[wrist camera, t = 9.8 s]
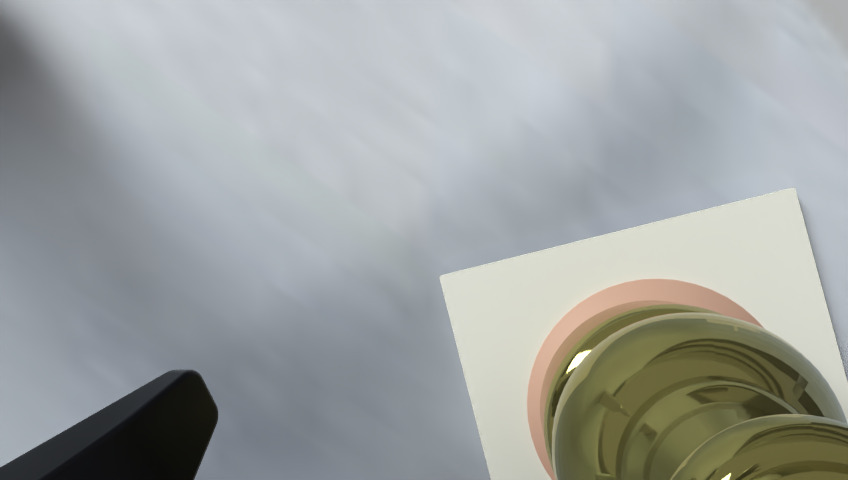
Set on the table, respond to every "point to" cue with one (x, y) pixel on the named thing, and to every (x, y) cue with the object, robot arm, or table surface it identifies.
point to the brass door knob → (687, 401)
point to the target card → (622, 283)
